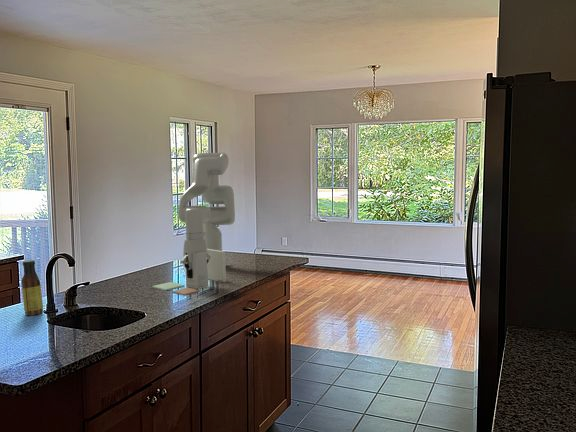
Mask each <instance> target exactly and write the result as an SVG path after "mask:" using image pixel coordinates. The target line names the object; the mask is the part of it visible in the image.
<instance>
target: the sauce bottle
mask: <svg viewBox="0 0 576 432" xmlns="http://www.w3.org/2000/svg"><path fill="white" fill-rule="evenodd" d="M35 264H36V261H35V260H34V259H28V260H22V266H23V277H22V279H21V289H22V290H21V291H22V292H21V293H22V300H23V309H24V314H25V316H36V314H38V315H40V314H43V312H44V310H43V309H44V304H43V295H42V293H43V292H42V287H41V286H42V285H41V281H40V278H39V276H38V274H37V272H36V268H35V267H36V266H35Z"/></svg>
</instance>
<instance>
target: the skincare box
mask: <svg viewBox="0 0 576 432" xmlns="http://www.w3.org/2000/svg"><path fill="white" fill-rule="evenodd" d="M187 260H188V258H187ZM188 261H189V260H188ZM185 263H187V262H185ZM191 269H192V270H193V278H192V279H191V278H187V269H185V282H186V288H192V289H196V290H199V289H200V290H201V289H202V288H206V287H209V279H208V271H207V256H206V252H198V253H193V263H192V268H191Z"/></svg>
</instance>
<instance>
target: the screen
mask: <svg viewBox="0 0 576 432" xmlns="http://www.w3.org/2000/svg"><path fill="white" fill-rule="evenodd" d="M207 253H208V254H209V255H210V256H211V258H210V260H209V262H208V263H207V271H208V280H210V281H214V282H215V281H216V282H217V283H227V281H228V280H227V279H228V278H227V272H226V271H227V270H226V269H227V267H226V266H227V265H226V262H225V258H226V251H224V250H222V251H219V250H212V249H207Z"/></svg>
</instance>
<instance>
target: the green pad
mask: <svg viewBox="0 0 576 432" xmlns="http://www.w3.org/2000/svg"><path fill="white" fill-rule="evenodd" d="M151 287H152V288H153V289H156V290H162V291H164V292H165V291H171V290H174V289H178V288H185V284H183V283H182V284H181V283H177V282H173V281H170V282H169V281H168V282H165V283H160V284H156V285H152V286H151Z"/></svg>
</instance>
